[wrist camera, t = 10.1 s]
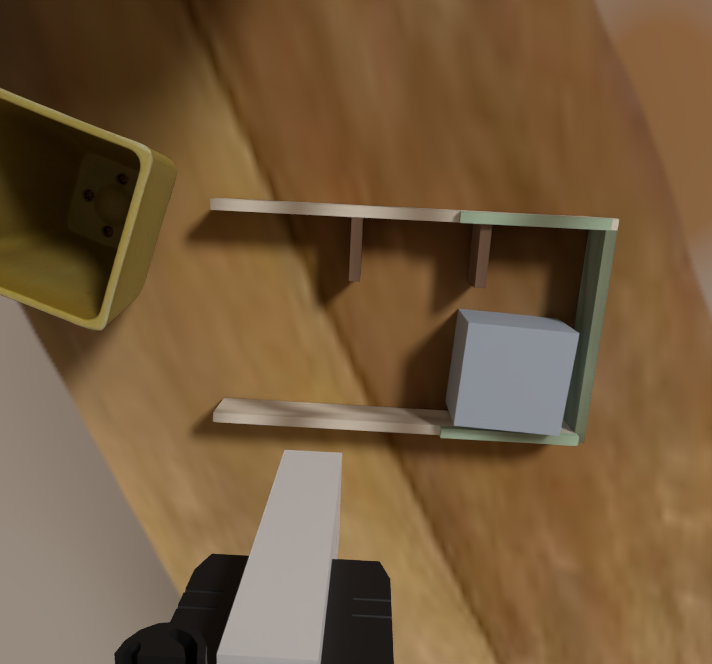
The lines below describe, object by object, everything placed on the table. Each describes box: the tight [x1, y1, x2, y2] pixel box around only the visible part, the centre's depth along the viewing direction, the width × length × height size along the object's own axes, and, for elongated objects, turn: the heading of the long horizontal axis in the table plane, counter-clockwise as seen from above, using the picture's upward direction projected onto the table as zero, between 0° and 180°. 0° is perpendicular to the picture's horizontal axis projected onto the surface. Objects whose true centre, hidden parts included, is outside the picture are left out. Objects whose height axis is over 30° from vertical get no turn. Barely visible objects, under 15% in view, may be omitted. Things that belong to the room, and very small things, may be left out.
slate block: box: [445, 309, 580, 436], centre depth 33 cm, size 6×6×4 cm
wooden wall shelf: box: [210, 198, 619, 446], centre depth 33 cm, size 22×13×3 cm, turn 87°
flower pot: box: [0, 88, 177, 331], centre depth 29 cm, size 9×9×9 cm
